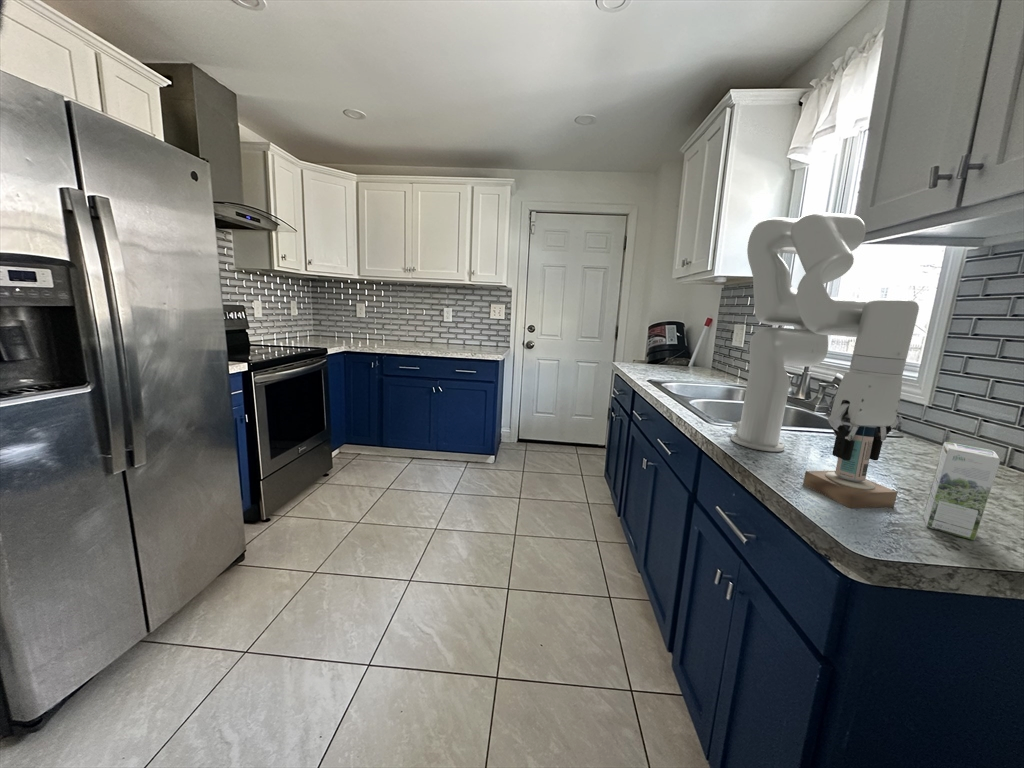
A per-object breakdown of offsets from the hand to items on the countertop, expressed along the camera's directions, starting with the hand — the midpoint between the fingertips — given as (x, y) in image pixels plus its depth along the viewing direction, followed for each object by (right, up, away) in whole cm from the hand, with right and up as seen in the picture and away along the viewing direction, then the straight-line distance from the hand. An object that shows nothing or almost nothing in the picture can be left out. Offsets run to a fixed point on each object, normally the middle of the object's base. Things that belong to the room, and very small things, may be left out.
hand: (854, 457), depth 79 cm
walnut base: (-1, -8, +1) cm, 8 cm away
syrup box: (+8, -11, -10) cm, 16 cm away
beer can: (0, -5, +1) cm, 5 cm away
